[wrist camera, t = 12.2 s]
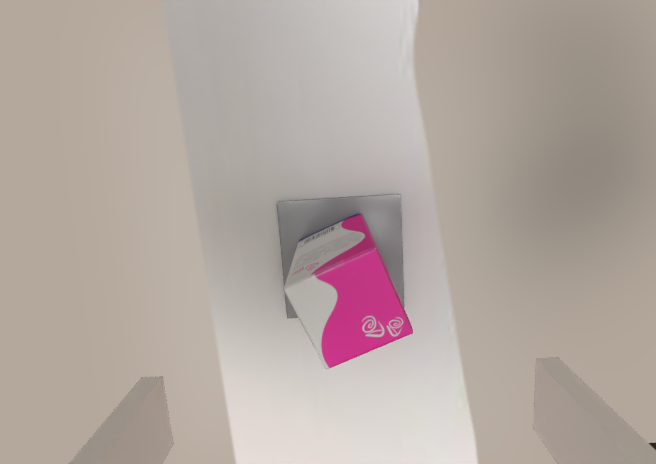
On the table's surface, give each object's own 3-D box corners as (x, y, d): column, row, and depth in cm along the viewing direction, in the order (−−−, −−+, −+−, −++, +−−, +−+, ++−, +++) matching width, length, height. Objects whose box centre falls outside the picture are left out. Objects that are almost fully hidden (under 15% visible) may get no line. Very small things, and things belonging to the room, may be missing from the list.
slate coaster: (277, 201, 34) (276, 202, 33) (399, 194, 34) (400, 194, 33) (288, 315, 36) (287, 318, 35) (403, 309, 36) (404, 312, 35)
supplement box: (327, 301, 35) (322, 373, 24) (297, 239, 34) (277, 284, 23) (390, 274, 34) (416, 335, 23) (361, 210, 33) (374, 241, 22)
